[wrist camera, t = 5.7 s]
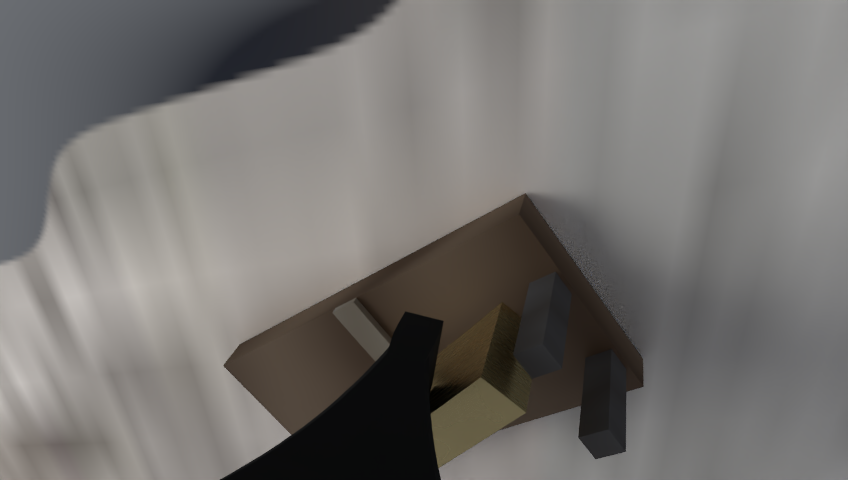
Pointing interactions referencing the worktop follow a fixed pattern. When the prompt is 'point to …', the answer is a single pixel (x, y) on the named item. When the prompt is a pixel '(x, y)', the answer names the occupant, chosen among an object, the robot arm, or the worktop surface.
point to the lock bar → (478, 384)
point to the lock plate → (460, 327)
